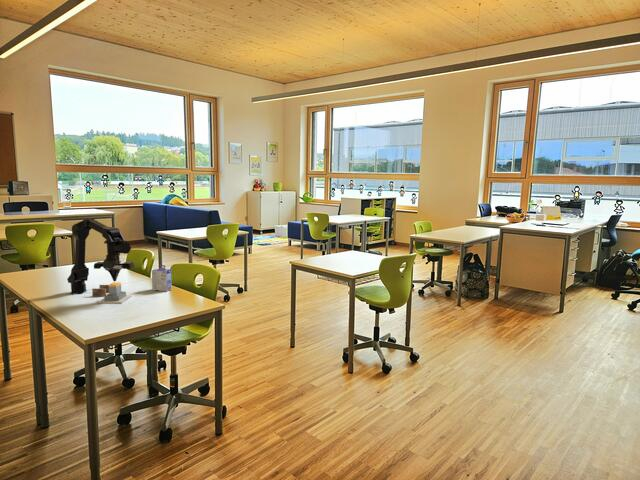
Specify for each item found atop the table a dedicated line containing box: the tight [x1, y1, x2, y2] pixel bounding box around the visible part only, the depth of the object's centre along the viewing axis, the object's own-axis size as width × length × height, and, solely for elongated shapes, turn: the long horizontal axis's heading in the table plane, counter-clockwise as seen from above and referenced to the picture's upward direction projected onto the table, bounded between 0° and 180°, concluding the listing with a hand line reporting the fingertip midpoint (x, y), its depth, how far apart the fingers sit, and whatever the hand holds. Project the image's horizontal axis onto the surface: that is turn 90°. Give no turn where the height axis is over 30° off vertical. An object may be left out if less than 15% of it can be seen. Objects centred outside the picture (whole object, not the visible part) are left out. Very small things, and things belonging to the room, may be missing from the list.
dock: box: [97, 291, 133, 305], centre depth 235 cm, size 12×14×3 cm
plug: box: [108, 281, 123, 296], centre depth 235 cm, size 4×6×8 cm, turn 2°
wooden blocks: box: [91, 284, 110, 297], centre depth 247 cm, size 7×10×4 cm
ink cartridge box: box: [151, 264, 173, 292], centre depth 256 cm, size 10×6×14 cm, turn 78°
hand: (114, 281), depth 234 cm, fingers closed
